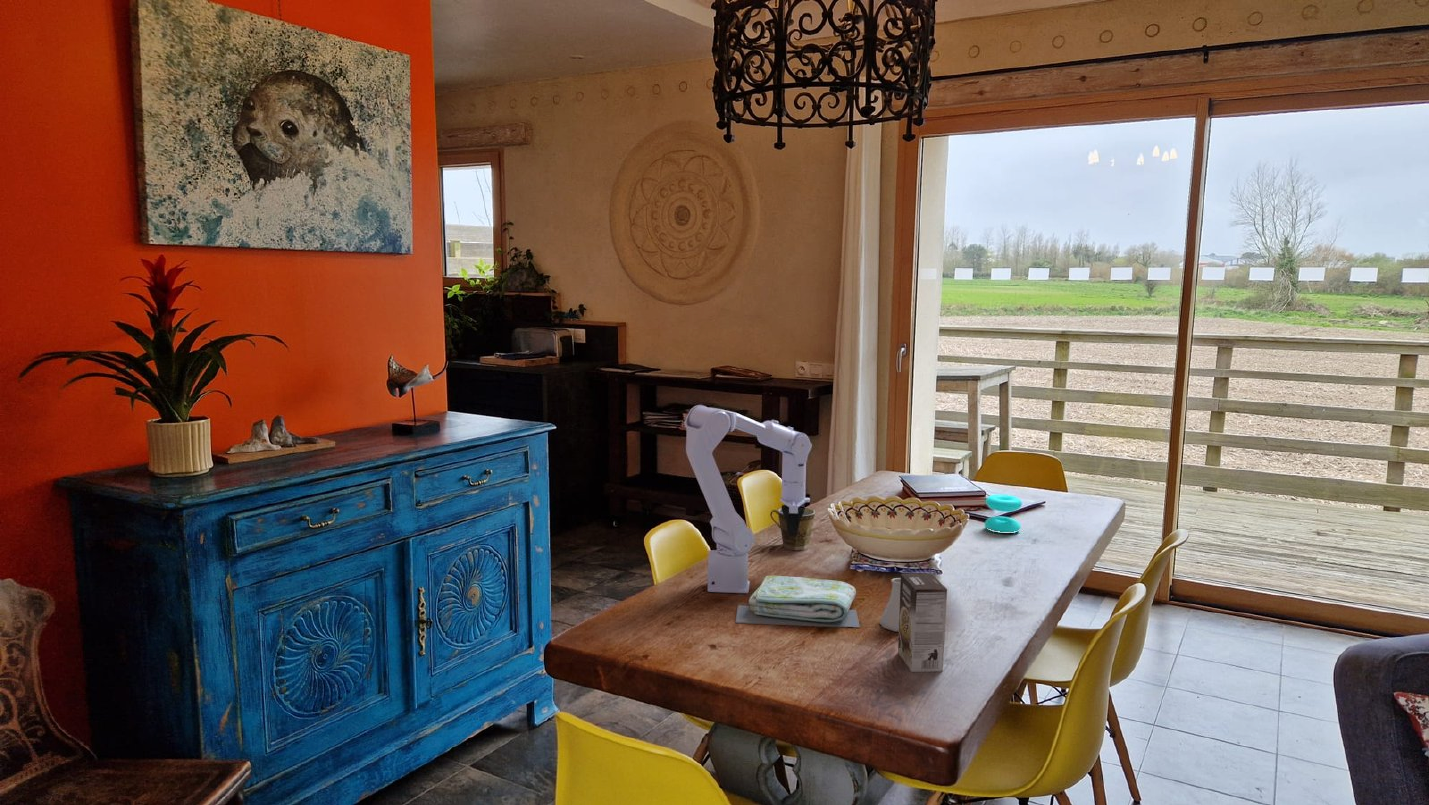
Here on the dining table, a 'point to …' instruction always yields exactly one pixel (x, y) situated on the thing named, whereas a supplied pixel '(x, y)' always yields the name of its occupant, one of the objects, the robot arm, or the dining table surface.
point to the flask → (892, 608)
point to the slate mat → (749, 617)
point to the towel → (802, 598)
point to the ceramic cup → (803, 532)
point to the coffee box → (922, 622)
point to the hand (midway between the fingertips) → (792, 535)
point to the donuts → (1006, 505)
